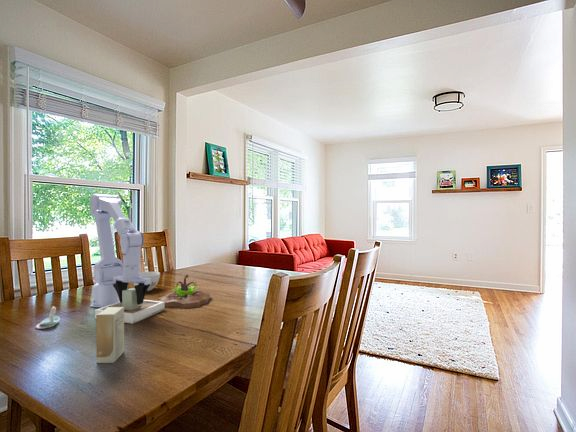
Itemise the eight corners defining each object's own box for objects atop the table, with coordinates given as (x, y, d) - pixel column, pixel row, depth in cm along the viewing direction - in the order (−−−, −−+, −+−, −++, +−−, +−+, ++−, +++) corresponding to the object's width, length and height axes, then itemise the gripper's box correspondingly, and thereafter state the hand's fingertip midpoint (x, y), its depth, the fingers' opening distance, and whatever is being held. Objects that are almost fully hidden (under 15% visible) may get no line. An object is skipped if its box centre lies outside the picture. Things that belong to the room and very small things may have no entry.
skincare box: (107, 352, 84) (107, 306, 84) (124, 352, 85) (125, 306, 85) (95, 364, 78) (95, 314, 78) (113, 363, 78) (113, 313, 78)
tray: (94, 318, 111) (95, 309, 111) (129, 305, 126) (129, 298, 126) (133, 323, 106) (133, 314, 106) (164, 309, 121) (164, 301, 121)
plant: (216, 297, 142) (216, 271, 142) (198, 310, 123) (198, 281, 123) (173, 294, 145) (174, 270, 145) (149, 307, 125) (150, 279, 125)
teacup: (161, 291, 149) (161, 274, 149) (131, 294, 143) (131, 276, 143) (157, 284, 162) (157, 269, 162) (130, 287, 156) (130, 271, 156)
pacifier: (32, 331, 99) (56, 328, 101) (32, 311, 98) (55, 308, 101) (39, 324, 105) (61, 321, 108) (39, 305, 105) (61, 302, 108)
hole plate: (99, 315, 111) (99, 311, 111) (130, 304, 125) (130, 300, 125) (132, 319, 107) (132, 315, 107) (160, 308, 121) (160, 303, 121)
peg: (122, 313, 114) (122, 290, 114) (130, 309, 118) (130, 288, 118) (131, 314, 113) (131, 291, 113) (139, 310, 117) (139, 289, 117)
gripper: (106, 265, 114) (106, 303, 114) (140, 268, 110) (139, 307, 110) (122, 263, 121) (121, 298, 121) (154, 265, 117) (153, 302, 117)
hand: (131, 302), depth 116 cm, fingers open, 7 cm apart
